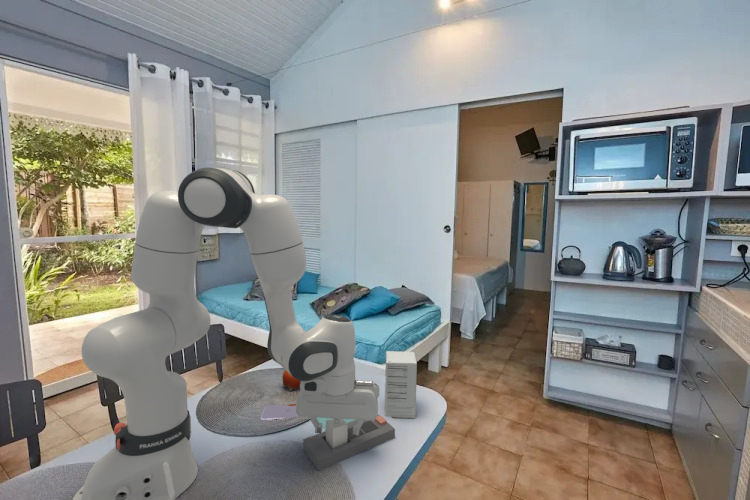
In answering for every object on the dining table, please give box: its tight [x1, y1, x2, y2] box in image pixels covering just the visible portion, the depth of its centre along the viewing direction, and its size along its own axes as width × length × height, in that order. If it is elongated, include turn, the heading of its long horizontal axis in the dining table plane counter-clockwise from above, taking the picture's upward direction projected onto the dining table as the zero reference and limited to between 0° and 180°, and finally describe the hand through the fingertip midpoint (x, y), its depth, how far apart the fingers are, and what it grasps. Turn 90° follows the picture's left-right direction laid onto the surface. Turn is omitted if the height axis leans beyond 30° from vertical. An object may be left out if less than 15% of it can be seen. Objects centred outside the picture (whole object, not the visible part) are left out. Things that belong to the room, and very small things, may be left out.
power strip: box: [302, 414, 396, 472], centre depth 88 cm, size 22×9×4 cm, turn 124°
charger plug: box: [325, 418, 348, 449], centre depth 86 cm, size 4×4×8 cm
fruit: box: [281, 369, 301, 392], centre depth 118 cm, size 8×8×8 cm
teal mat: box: [317, 417, 354, 431], centre depth 99 cm, size 12×9×1 cm
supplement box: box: [384, 350, 418, 419], centre depth 104 cm, size 10×9×17 cm
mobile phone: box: [260, 403, 300, 421], centre depth 103 cm, size 8×1×15 cm
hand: (337, 432), depth 85 cm, fingers open, 8 cm apart
